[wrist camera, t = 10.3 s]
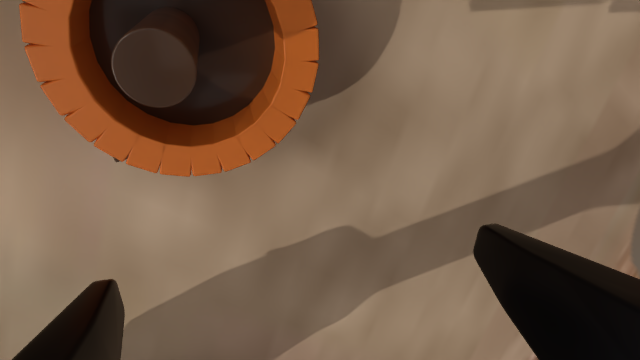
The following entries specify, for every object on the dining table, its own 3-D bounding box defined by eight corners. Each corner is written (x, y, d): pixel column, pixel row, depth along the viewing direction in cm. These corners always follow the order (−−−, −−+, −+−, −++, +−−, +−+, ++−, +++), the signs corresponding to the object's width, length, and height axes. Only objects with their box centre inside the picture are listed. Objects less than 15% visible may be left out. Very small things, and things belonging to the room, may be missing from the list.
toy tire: (94, 164, 17) (78, 192, 15) (-1, -108, 13) (-43, -124, 10) (309, 139, 20) (321, 160, 17) (300, -105, 15) (315, -116, 13)
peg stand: (121, 149, 19) (79, 242, 13) (4, -62, 14) (-159, -83, 8) (296, 96, 20) (337, 158, 14) (239, -118, 15) (263, -177, 9)
